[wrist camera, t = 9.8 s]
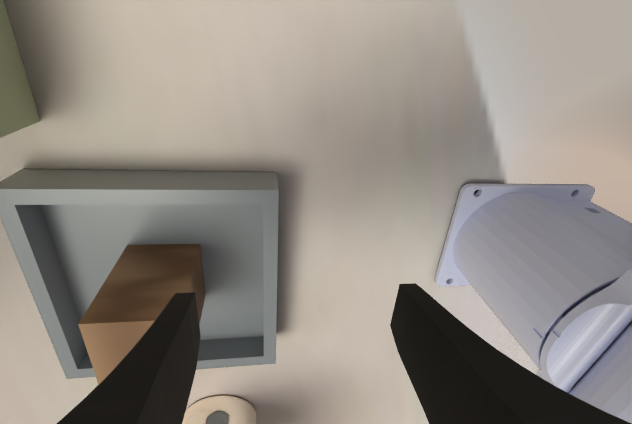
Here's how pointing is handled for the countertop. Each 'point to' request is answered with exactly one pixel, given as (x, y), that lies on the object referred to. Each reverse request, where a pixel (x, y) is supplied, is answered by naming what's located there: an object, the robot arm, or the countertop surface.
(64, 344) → the grey tray
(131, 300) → the walnut block
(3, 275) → the countertop surface
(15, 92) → the olive block
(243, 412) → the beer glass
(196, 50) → the countertop surface
